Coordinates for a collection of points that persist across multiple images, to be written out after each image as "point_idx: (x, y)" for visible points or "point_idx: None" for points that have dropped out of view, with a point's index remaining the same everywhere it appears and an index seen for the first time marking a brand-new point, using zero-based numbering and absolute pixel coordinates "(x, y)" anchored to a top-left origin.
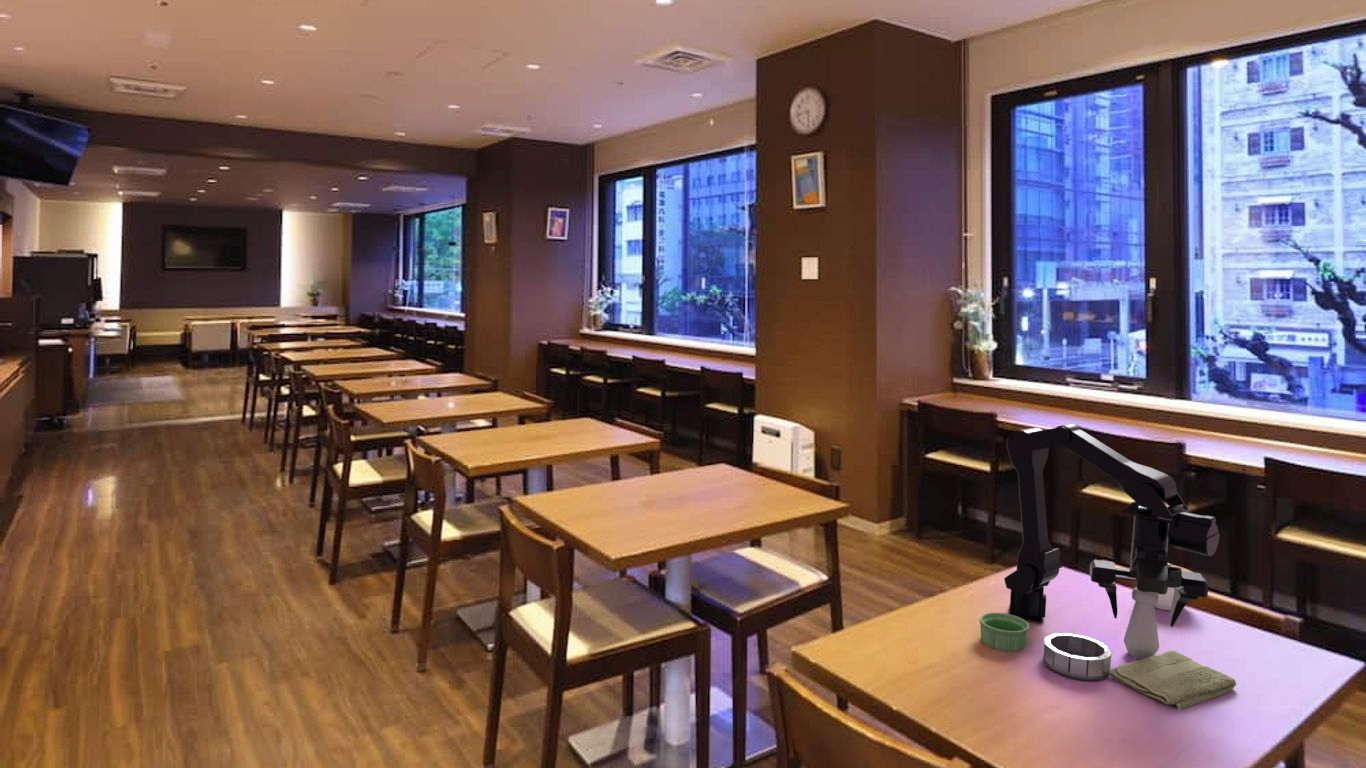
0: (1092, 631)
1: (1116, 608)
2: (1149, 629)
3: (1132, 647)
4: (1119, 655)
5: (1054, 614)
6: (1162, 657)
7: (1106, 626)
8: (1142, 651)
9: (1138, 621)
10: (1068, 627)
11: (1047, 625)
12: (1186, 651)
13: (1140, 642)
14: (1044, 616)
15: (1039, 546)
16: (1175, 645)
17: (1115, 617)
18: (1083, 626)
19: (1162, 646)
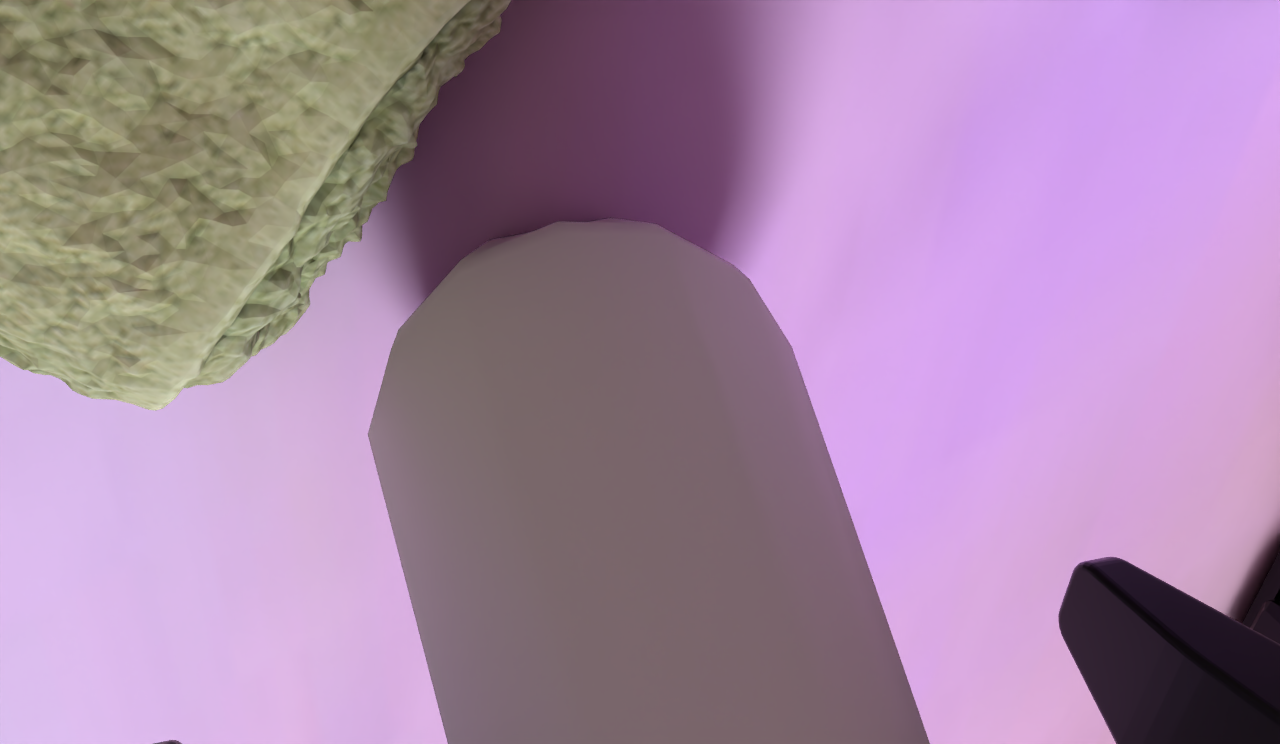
0: (925, 600)
1: (1275, 699)
2: (555, 494)
3: (706, 256)
4: (788, 208)
5: None
6: (288, 57)
7: None
8: (578, 222)
9: (792, 567)
10: None
11: (1253, 518)
12: (124, 661)
13: (639, 288)
14: (1273, 608)
15: None
16: (245, 718)
17: (1111, 566)
18: (971, 644)
19: (356, 641)
